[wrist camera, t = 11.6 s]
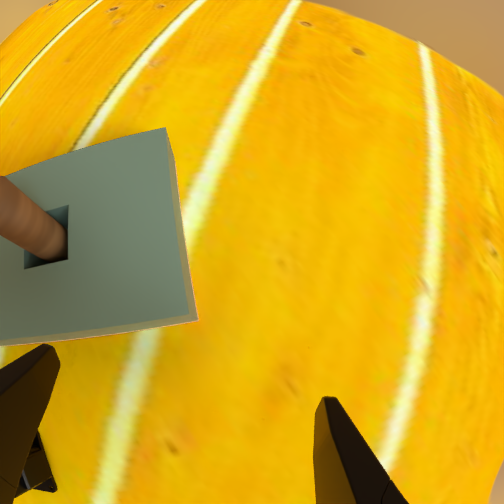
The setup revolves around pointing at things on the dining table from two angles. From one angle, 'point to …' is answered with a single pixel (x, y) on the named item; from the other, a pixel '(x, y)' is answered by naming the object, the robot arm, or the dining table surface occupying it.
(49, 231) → the pin
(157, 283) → the board
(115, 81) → the dining table surface
